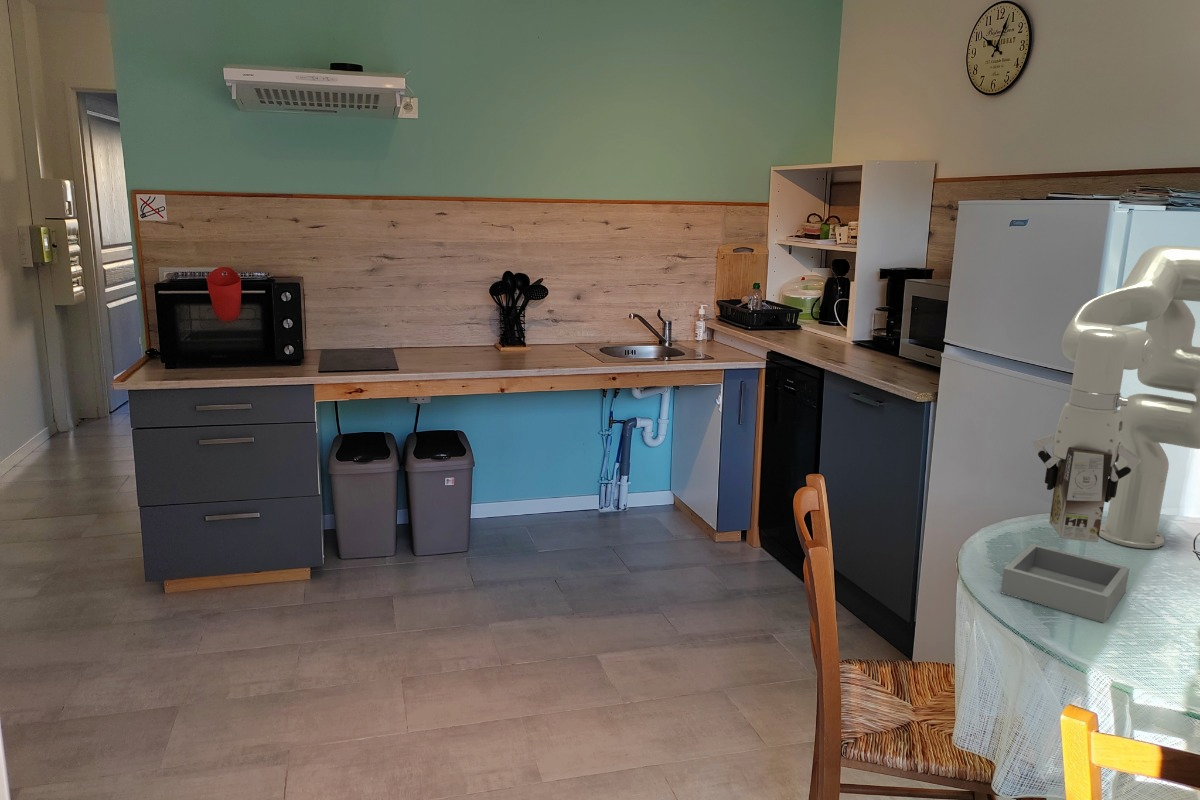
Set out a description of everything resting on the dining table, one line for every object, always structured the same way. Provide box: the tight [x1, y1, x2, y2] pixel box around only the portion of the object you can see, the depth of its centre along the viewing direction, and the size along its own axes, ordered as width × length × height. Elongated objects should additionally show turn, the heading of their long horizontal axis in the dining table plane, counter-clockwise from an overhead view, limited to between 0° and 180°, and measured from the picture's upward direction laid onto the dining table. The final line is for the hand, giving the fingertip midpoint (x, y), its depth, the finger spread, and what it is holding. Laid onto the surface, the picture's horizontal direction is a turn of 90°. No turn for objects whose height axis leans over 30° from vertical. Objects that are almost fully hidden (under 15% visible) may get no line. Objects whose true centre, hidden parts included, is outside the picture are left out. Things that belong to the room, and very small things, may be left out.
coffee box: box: [1048, 447, 1113, 543], centre depth 162 cm, size 9×6×16 cm
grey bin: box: [1000, 543, 1130, 624], centre depth 166 cm, size 17×17×5 cm
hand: (1078, 494), depth 162 cm, fingers closed on coffee box, 8 cm apart
